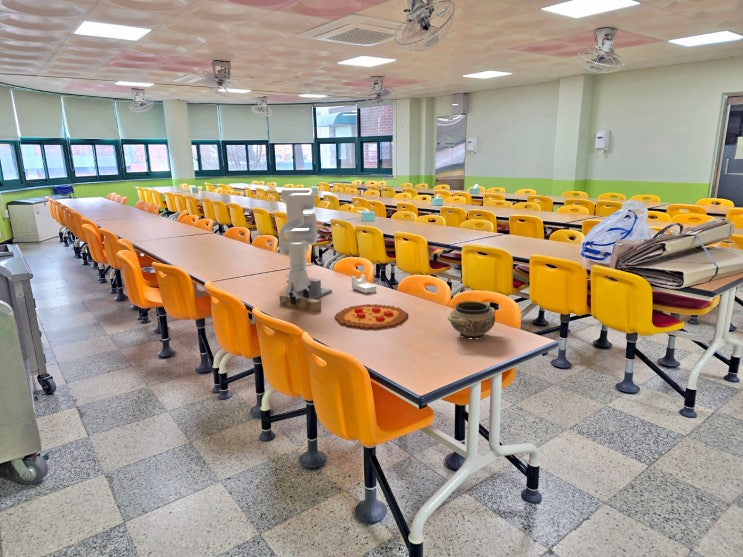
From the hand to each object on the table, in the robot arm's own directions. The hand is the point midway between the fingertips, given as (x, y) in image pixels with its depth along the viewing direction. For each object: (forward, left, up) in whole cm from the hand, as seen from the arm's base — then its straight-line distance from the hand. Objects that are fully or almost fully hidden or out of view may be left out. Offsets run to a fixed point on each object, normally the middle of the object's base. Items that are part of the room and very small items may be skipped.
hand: (299, 301), depth 238 cm
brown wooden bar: (0, 0, -3) cm, 3 cm away
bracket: (+11, +41, -3) cm, 42 cm away
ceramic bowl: (+87, +4, -3) cm, 87 cm away
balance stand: (-9, +18, -3) cm, 20 cm away
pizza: (+39, +4, -3) cm, 39 cm away
